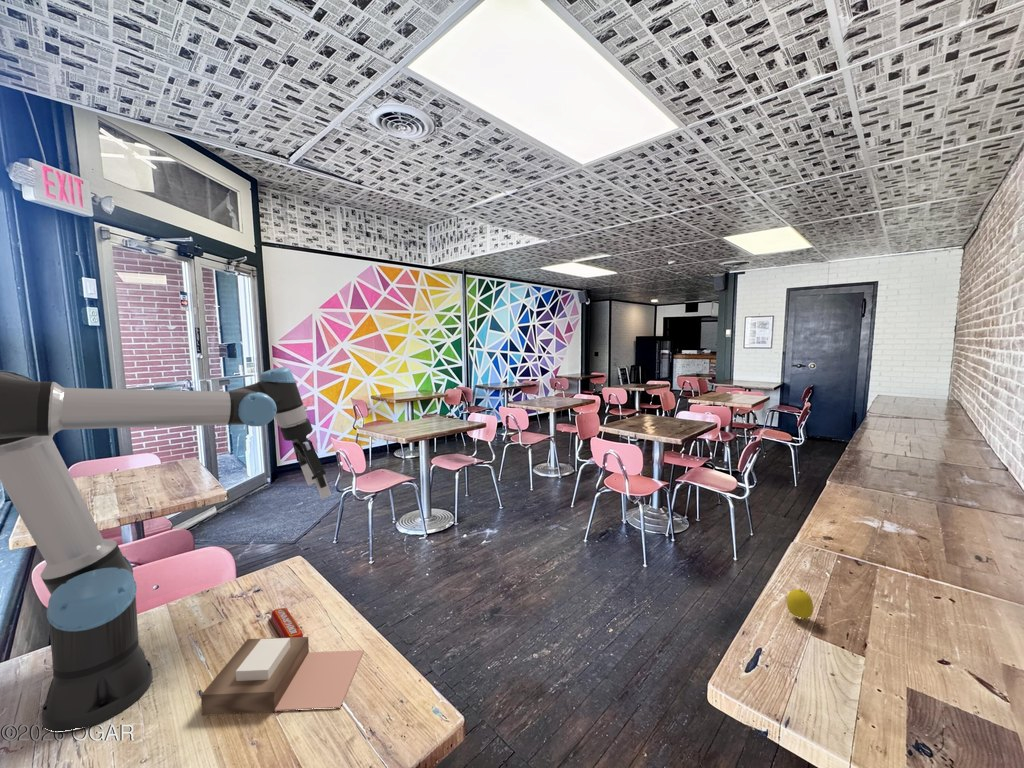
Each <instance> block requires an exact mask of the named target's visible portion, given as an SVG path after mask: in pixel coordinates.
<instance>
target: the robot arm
mask: <svg viewBox="0 0 1024 768" xmlns="http://www.w3.org/2000/svg"><path fill="white" fill-rule="evenodd" d="M259 378H260V379H259V381H257V382H254V383H253V384H249V385H245V386H243V387H239V388H236V389H232V390H229V391H220V390H219V391H216V390H215V391H214V390H211V391H210V390H181V389H180V390H178V389H177V390H175V389H174V390H172V389H170V390H169V389H168V390H167V389H131V388H130V389H126V388H91V387H89V388H88V387H87V388H86V387H85V388H84V387H83V388H82V387H81V388H80V387H78V388H77V387H63V386H61V385H60V384H59V383H57V382H56V381H35V379H33V378H31V377H30V376H27V375H26V374H22V373H19V372H17V371H12V370H3V369H0V483H1V485H2V486H3V488H4V490H5V492H6V494H7V495H8V497H9V499H10V501H11V502H12V504H13V506H14V508H15V509H16V511H17V513H18V515H19V517H20V518H21V520H22V522H23V524H24V525H25V528H26V529H27V531H28V533H29V535H30V536H31V538H32V539H33V542H34V543H35V545H36V547H37V549H38V551H39V552H40V554H41V556H42V557H43V560H44V561H45V563H46V564H45V566H44V568H43V570H42V572H41V573H40V579H41V580H42V581H43V583H44V585H45V587H46V589H47V591H48V592H49V594H50V597H49V599H48V601H47V602H48V603H47V604H48V606H47V608H46V618H47V620H48V623H49V625H48V626H49V637H50V650H51V661H52V662H51V663H52V680H51V682H50V686H49V688H48V691H47V694H46V698H45V701H44V703H43V705H42V708H41V725H43V726H44V728H46V729H48V730H52V731H65V730H71V729H75V728H82V727H87V728H89V727H88V726H90V727H92V726H94V725H95V726H96V725H97V724H100V723H102V722H104V721H106V720H109V719H110V718H112V717H114V716H116V715H118V714H119V713H121V712H123V711H125V710H126V709H127V708H128V707H130V706H132V705H134V703H135V702H137V701H138V700H139V699H140V698H141V697H142V696H143V695H144V694H145V693H146V692H148V689H149V688H150V686H151V684H152V682H153V668H152V663H151V662H150V660H148V659H147V658H146V656H145V653H144V651H143V649H142V648H141V645H140V642H139V628H138V627H139V625H138V611H137V608H138V607H137V595H136V594H137V591H138V590H137V583H136V580H135V577H134V568H133V566H132V563H131V561H130V560H129V559H128V558H127V557H126V556H124V554H123V553H122V551H121V549H120V547H119V544H118V543H117V542H116V540H113V539H107V538H103V535H102V534H101V531H100V530H99V528H98V526H97V523H96V522H95V520H94V518H93V516H92V514H91V511H90V510H89V508H88V506H87V504H86V502H85V500H84V498H83V496H82V494H81V492H80V490H79V488H78V487H77V484H76V483H75V480H74V479H73V478H74V477H73V476H72V475H71V473H70V470H69V469H68V467H67V465H66V463H65V461H64V459H63V457H62V455H61V453H60V451H59V449H58V448H57V445H56V443H55V441H54V439H53V437H54V436H55V434H56V433H59V432H60V431H63V430H90V429H94V430H96V429H121V428H122V429H126V428H129V429H130V428H131V429H132V428H156V427H157V428H158V427H159V428H161V427H190V426H191V427H193V426H194V427H195V426H196V427H197V426H227V425H229V426H238V425H240V426H241V425H247V426H250V427H263V426H266V425H268V424H269V423H270V422H272V421H273V420H274V418H275V420H276V423H277V425H278V427H280V429H279V431H280V433H281V435H282V438H283V440H284V441H288V442H289V441H290V442H291V444H292V446H293V451H294V454H295V457H296V462H298V464H299V465H300V468H301V471H302V473H303V476H304V480H305V481H306V484H307V486H312V485H313V484H315V485H316V488H317V491H318V493H319V497H320V499H321V500H323V499H325V498H327V497H329V496H332V491H331V488H330V487H329V484H328V483H329V482H328V481H327V477H326V474H327V473H326V470H325V469H324V466H323V464H322V462H321V460H320V458H319V456H318V453H317V452H316V449H315V447H314V444H313V441H311V439H309V438H308V437H307V436H308V435H310V434H311V433H312V432H313V426H312V423H311V420H310V419H309V418H308V413H307V411H306V410H308V407H307V405H306V406H305V405H304V402H303V400H302V397H301V394H300V391H299V387H298V385H297V380H295V377H294V375H293V373H292V370H291V369H290V368H289V367H287V366H281V367H276V368H272V369H268V370H266V371H264V372H261V373H260V374H259ZM43 726H42V727H43ZM44 728H43V729H44Z"/></svg>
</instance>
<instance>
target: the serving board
mask: <svg viewBox="0 0 1024 768" xmlns="http://www.w3.org/2000/svg"><path fill="white" fill-rule="evenodd" d="M274 638H275V637H270V638H269V637H268V638H267V637H266V638H264V637H263V638H247V639H246V640H245V641H244V643H243V644H242V645H241V646H240V648H239V649H238V650H237V651H236V652H235V653H234V655H233V656H232V657H231V658H230V660H228V661H227V663H226V664H225V665H224V666H223V668H222V669H221V670H220V671H219V673H218V674H217V675H216V677H214V678H213V679H212V681H211V682H210V683H209V684H208V686H207V687H206V688H205V690H204V691H203V692H202V693H201V695H200V701H201V702H200V703H201V704H200V705H201V715H202V716H213V715H215V716H216V715H217V716H218V715H232V714H233V715H234V714H235V715H236V714H237V715H238V714H239V713H240V714H256V713H257V714H258V713H275V712H274V711H275V708H276V707H277V705H278V703H279V702H280V700H281V698H282V697H283V695H284V693H285V692H286V690H287V688H288V686H289V685H290V683H291V681H292V680H293V678H294V676H295V675H296V673H297V671H298V670H299V668H300V666H301V665H302V663H303V661H304V659H305V658H306V656H307V654H308V653H309V652H310V649H309V648H310V647H309V636H303V637H290V648H289V650H288V651H287V653H286V654H285V656H284V657H283V659H282V660H281V662H280V663H279V665H278V666H277V668H276V669H275V671H274V672H273V674H272V675H271V677H270V678H269V680H248V681H236V670H237V669H238V668H239V666H240V665H241V664H242V663H243V661H244V660H245V659H246V657H247V656H248V655H249V654H250V652H251V651H252V650H253V649H254V647H255V646H256V645H257V644H258V642H259V641H260V640H261V639H274Z"/></svg>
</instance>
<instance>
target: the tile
mask: <svg viewBox="0 0 1024 768" xmlns="http://www.w3.org/2000/svg"><path fill="white" fill-rule="evenodd" d="M273 638H274V639H262V638H260V639H261V640H260V641H259V642H258V644H257V645H256V646H255V647H254V649H253V650H252V651H251V652H250V654H249V655H248V656H247V657H246V659H245V660H244V661H243V663H242V664H241V665H240V666H239V668H238V669H237V670H236V681H248V680H269V678H270V677H271V675H272V674H273V672H274V671H275V669H276V668H277V666H278V665H279V663H280V662H281V660H282V659H283V657H284V656H285V654H286V653H287V651H288V650H289V648H290V638H282V637H273Z"/></svg>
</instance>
